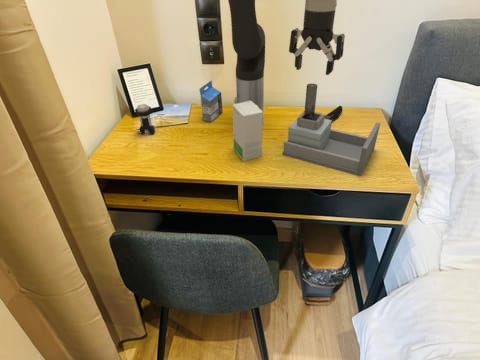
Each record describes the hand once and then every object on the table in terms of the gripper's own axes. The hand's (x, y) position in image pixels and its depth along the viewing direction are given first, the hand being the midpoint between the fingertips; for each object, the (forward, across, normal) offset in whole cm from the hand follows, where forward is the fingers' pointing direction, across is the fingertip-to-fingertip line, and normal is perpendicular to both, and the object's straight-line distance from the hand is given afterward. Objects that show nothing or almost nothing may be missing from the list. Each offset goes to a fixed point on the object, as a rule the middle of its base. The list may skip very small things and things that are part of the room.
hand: (313, 71), depth 95 cm
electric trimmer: (+25, +1, +21) cm, 32 cm away
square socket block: (+23, +1, 0) cm, 23 cm away
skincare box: (+25, -14, -12) cm, 31 cm away
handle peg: (+16, 0, 0) cm, 16 cm away
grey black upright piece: (+25, -52, -17) cm, 60 cm away
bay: (+24, +8, 0) cm, 25 cm away
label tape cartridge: (+25, -38, +4) cm, 46 cm away
